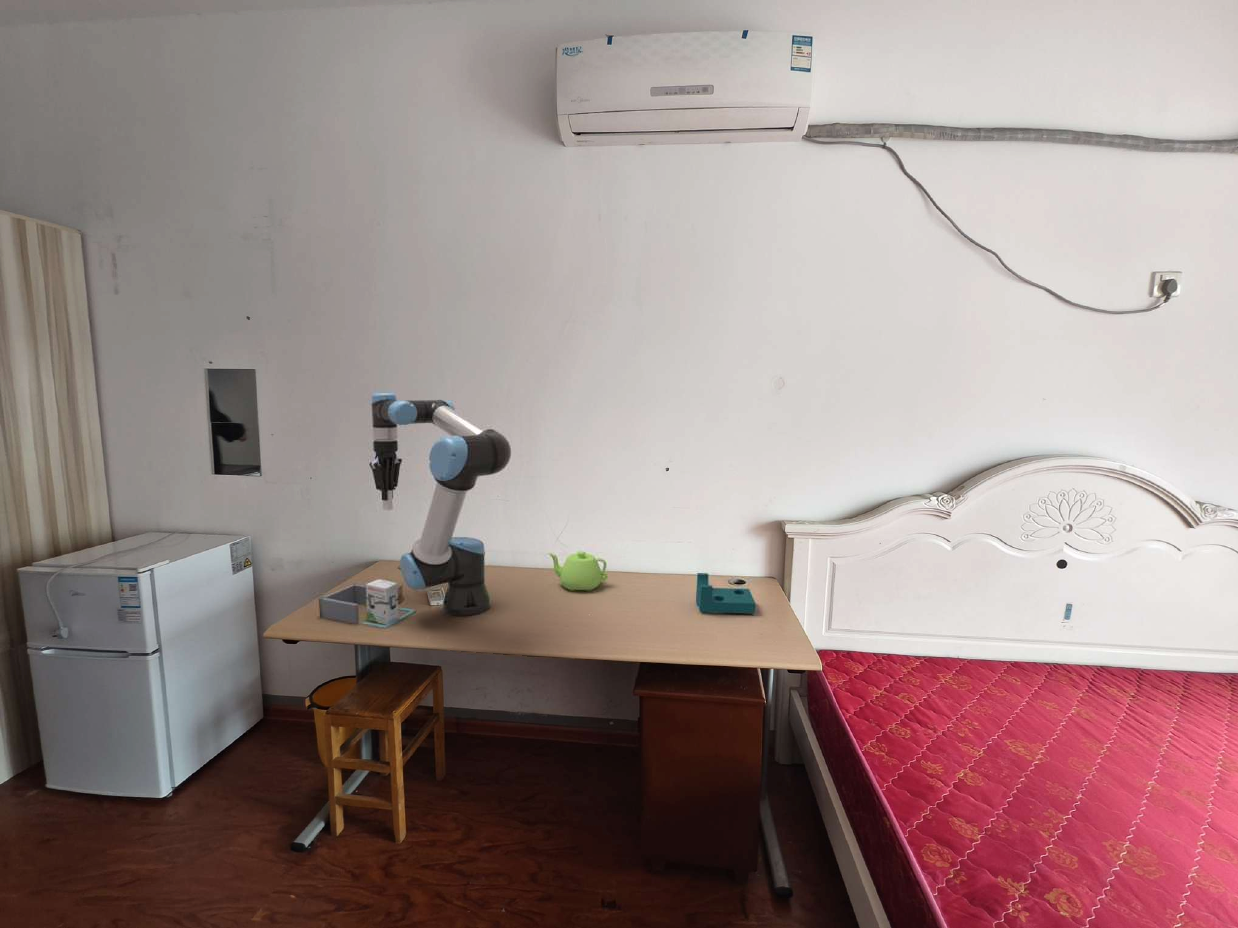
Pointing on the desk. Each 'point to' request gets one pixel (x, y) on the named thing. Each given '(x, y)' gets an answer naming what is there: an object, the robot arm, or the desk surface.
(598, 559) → the teapot
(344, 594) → the cubby
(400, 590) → the walnut block
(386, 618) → the ink box
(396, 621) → the frame
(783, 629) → the desk surface
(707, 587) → the teal l-shaped bracket
